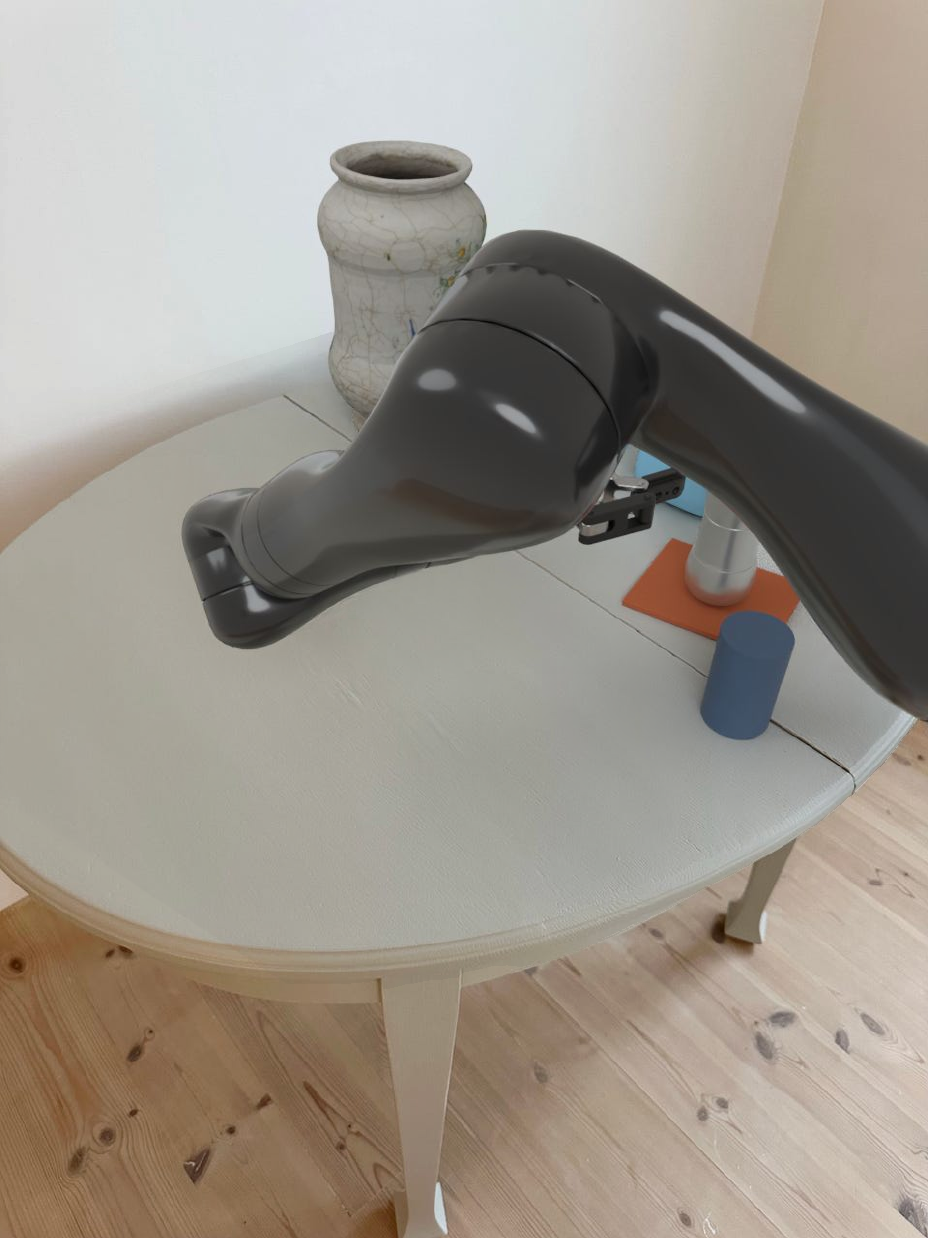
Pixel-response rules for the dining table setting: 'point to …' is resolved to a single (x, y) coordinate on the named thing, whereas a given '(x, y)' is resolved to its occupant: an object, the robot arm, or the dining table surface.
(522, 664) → the dining table surface
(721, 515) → the silver metal bottle
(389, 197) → the vase
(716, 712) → the blue canister
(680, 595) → the terracotta mat
